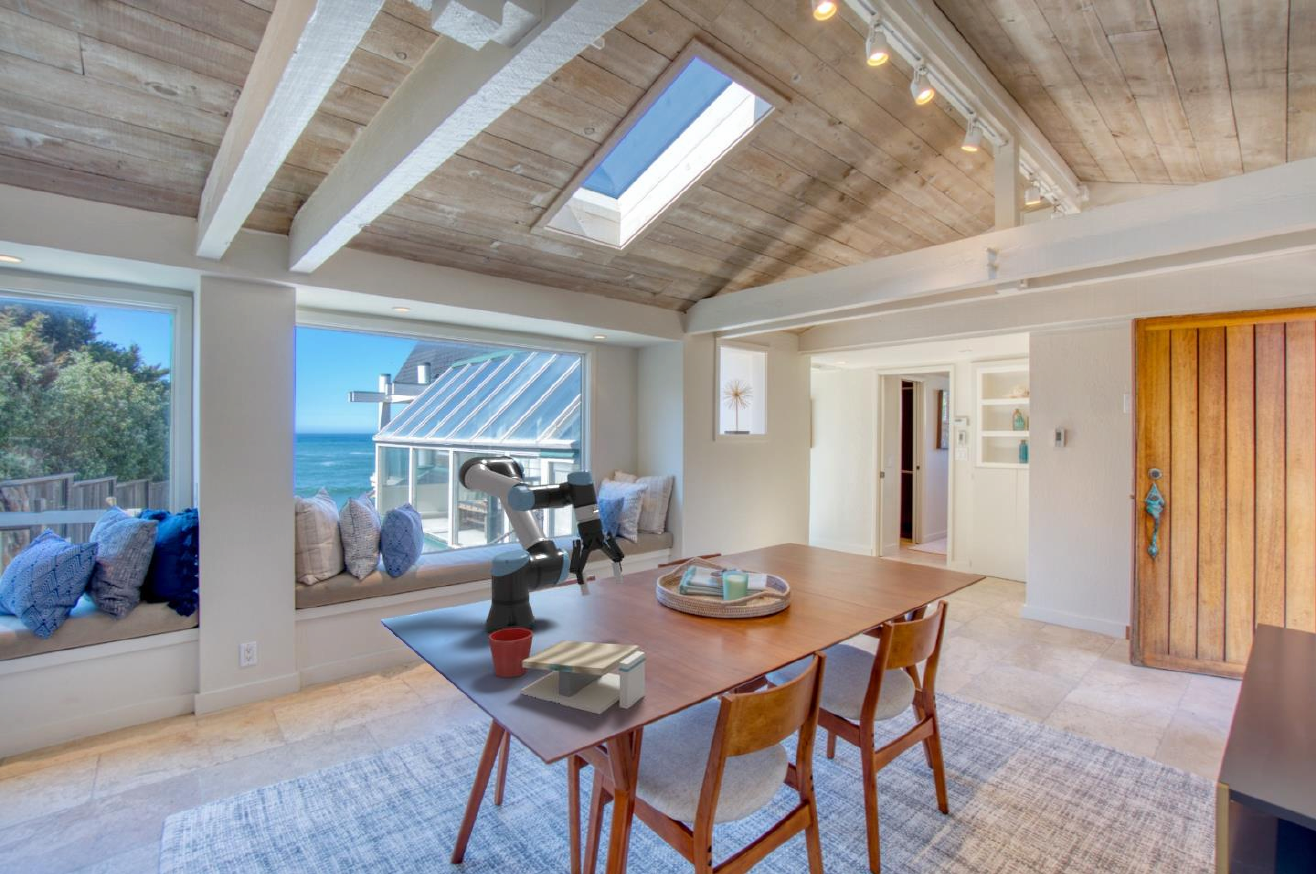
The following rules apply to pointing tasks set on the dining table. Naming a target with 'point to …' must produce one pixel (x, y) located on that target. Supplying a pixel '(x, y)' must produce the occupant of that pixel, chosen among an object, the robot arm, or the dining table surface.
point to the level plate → (581, 657)
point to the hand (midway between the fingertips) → (603, 589)
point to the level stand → (593, 687)
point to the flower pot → (510, 650)
